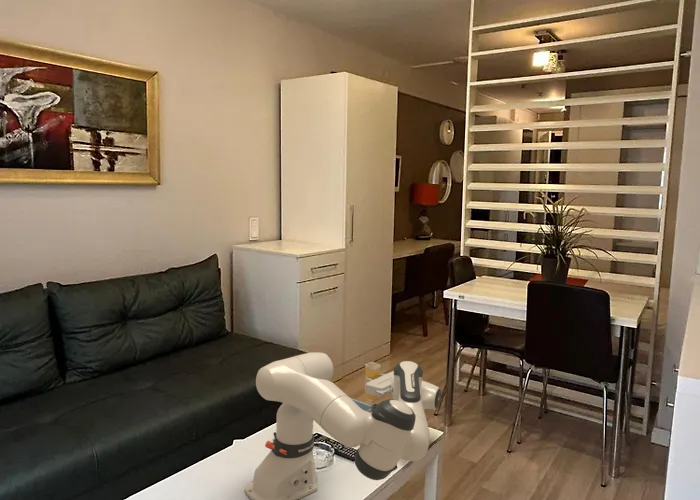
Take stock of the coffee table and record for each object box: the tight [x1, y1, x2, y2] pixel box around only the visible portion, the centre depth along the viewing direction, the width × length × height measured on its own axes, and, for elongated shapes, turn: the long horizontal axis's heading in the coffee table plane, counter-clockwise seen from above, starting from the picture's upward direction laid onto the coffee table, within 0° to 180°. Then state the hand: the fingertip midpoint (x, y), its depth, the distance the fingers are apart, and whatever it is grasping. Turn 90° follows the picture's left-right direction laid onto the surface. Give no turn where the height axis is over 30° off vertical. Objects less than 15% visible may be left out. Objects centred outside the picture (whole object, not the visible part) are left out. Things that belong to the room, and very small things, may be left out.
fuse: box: [364, 361, 382, 401], centre depth 198 cm, size 4×4×13 cm
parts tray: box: [350, 397, 373, 412], centre depth 203 cm, size 16×16×4 cm
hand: (370, 377), depth 198 cm, fingers closed on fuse, 4 cm apart
